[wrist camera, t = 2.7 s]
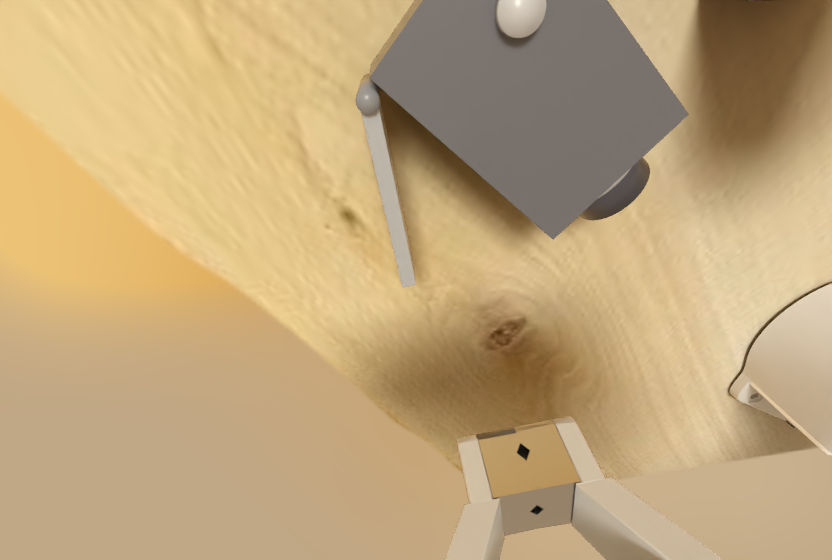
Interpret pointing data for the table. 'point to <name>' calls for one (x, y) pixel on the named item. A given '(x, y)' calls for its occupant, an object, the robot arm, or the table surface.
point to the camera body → (534, 99)
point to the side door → (386, 176)
